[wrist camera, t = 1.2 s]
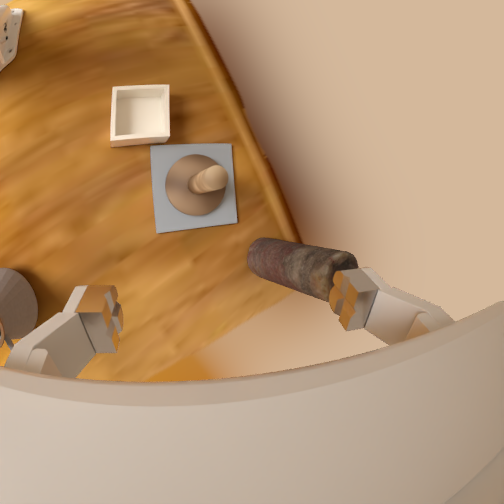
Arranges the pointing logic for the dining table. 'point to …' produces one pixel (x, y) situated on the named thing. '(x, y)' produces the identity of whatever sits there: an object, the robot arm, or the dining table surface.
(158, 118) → the dish
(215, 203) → the lid
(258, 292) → the dining table surface
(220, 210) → the mat
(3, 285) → the coffee pot
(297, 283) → the candle
